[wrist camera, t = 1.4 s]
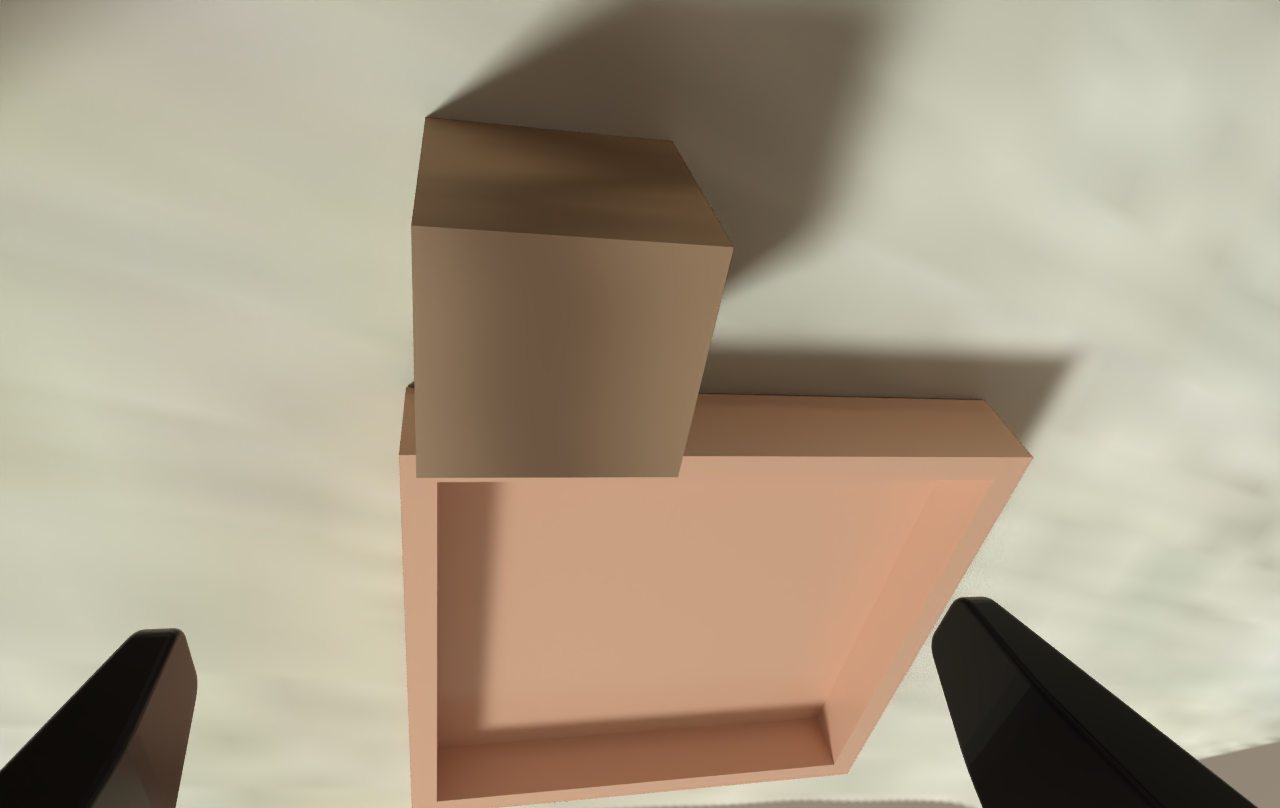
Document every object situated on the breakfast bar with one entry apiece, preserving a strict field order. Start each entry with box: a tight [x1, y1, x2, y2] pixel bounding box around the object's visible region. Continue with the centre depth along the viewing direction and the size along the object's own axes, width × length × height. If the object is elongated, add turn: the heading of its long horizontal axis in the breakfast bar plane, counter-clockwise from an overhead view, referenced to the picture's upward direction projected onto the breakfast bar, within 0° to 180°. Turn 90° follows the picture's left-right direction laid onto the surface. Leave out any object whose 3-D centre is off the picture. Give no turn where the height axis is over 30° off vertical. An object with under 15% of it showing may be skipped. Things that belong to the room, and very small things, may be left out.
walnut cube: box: [411, 117, 734, 478], centre depth 16 cm, size 5×5×5 cm
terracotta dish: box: [399, 387, 1033, 808], centre depth 25 cm, size 16×16×2 cm
